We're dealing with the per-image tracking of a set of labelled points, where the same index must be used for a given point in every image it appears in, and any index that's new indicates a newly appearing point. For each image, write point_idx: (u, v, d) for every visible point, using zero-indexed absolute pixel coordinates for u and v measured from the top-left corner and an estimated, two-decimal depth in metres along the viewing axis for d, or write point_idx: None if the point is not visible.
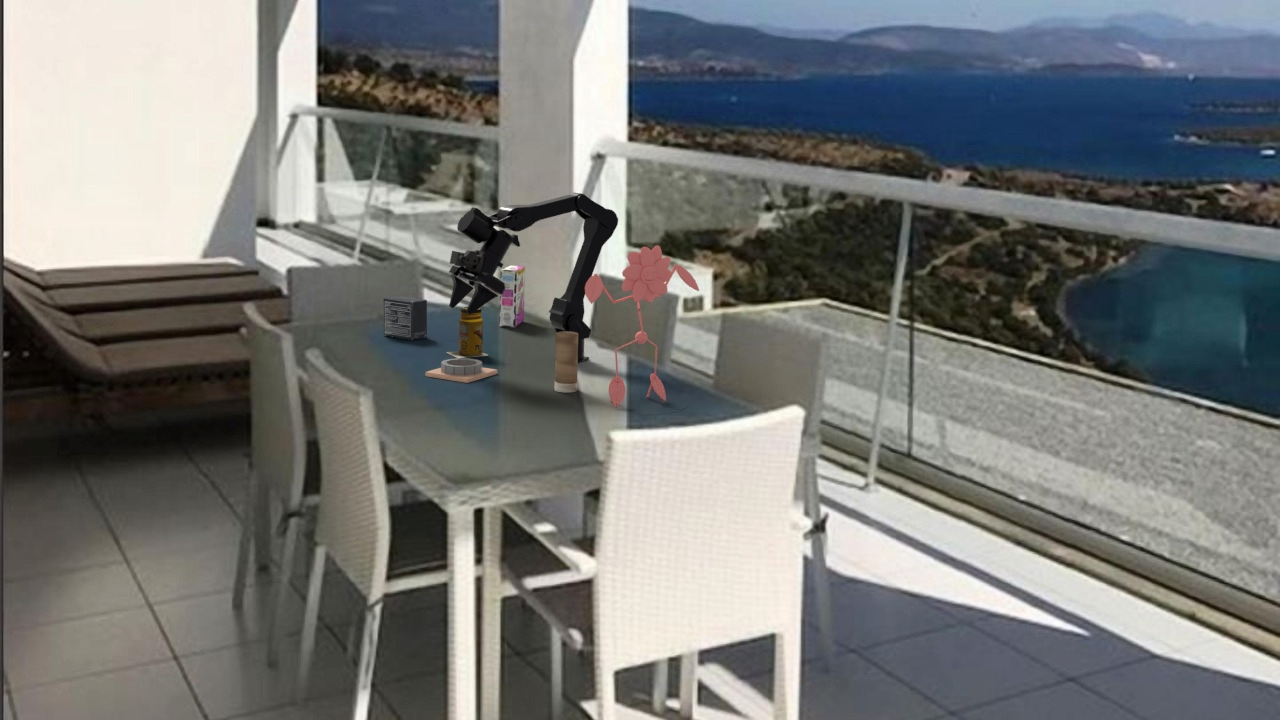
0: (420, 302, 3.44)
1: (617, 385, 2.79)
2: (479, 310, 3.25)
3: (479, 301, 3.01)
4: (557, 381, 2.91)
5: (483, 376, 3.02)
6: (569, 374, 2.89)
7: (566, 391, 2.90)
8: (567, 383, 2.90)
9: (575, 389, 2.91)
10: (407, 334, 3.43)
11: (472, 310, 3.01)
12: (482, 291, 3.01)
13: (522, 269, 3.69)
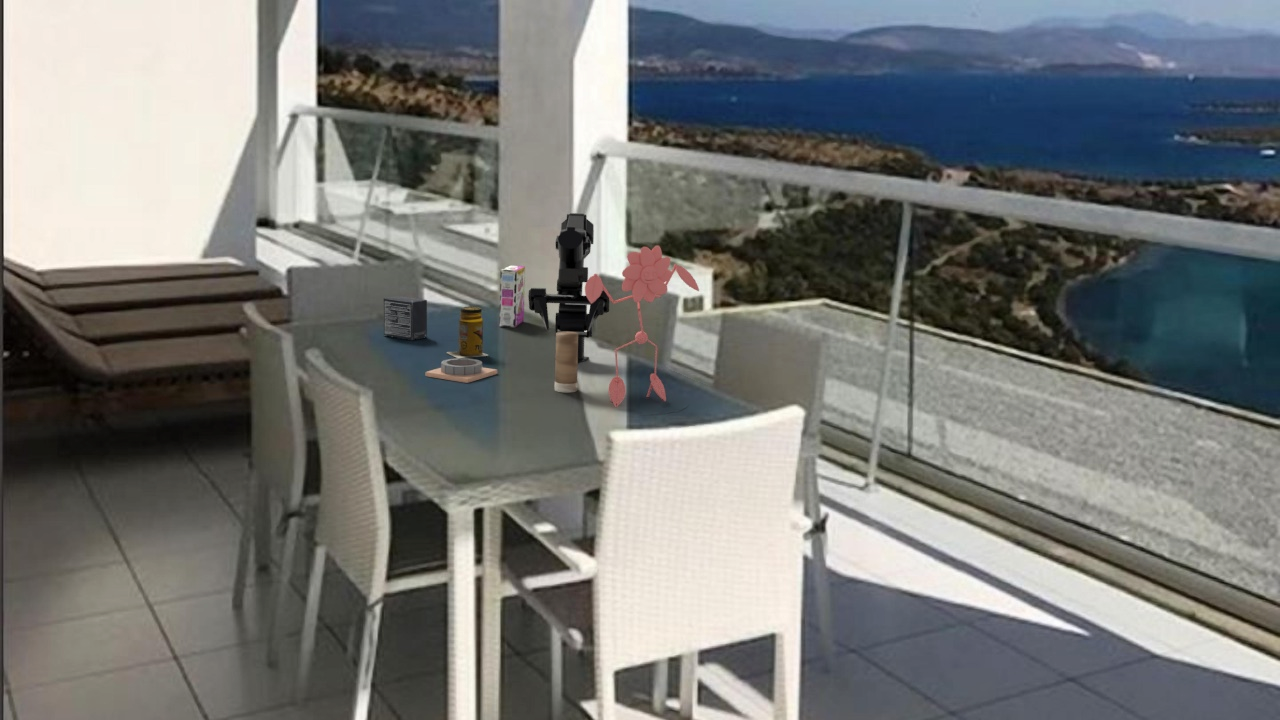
0: (420, 302, 3.44)
1: (617, 385, 2.79)
2: (479, 310, 3.25)
3: (593, 318, 2.99)
4: (557, 381, 2.91)
5: (483, 376, 3.02)
6: (569, 374, 2.89)
7: (566, 391, 2.90)
8: (567, 383, 2.90)
9: (575, 389, 2.91)
10: (407, 334, 3.43)
11: (589, 327, 2.97)
12: None
13: (522, 269, 3.69)
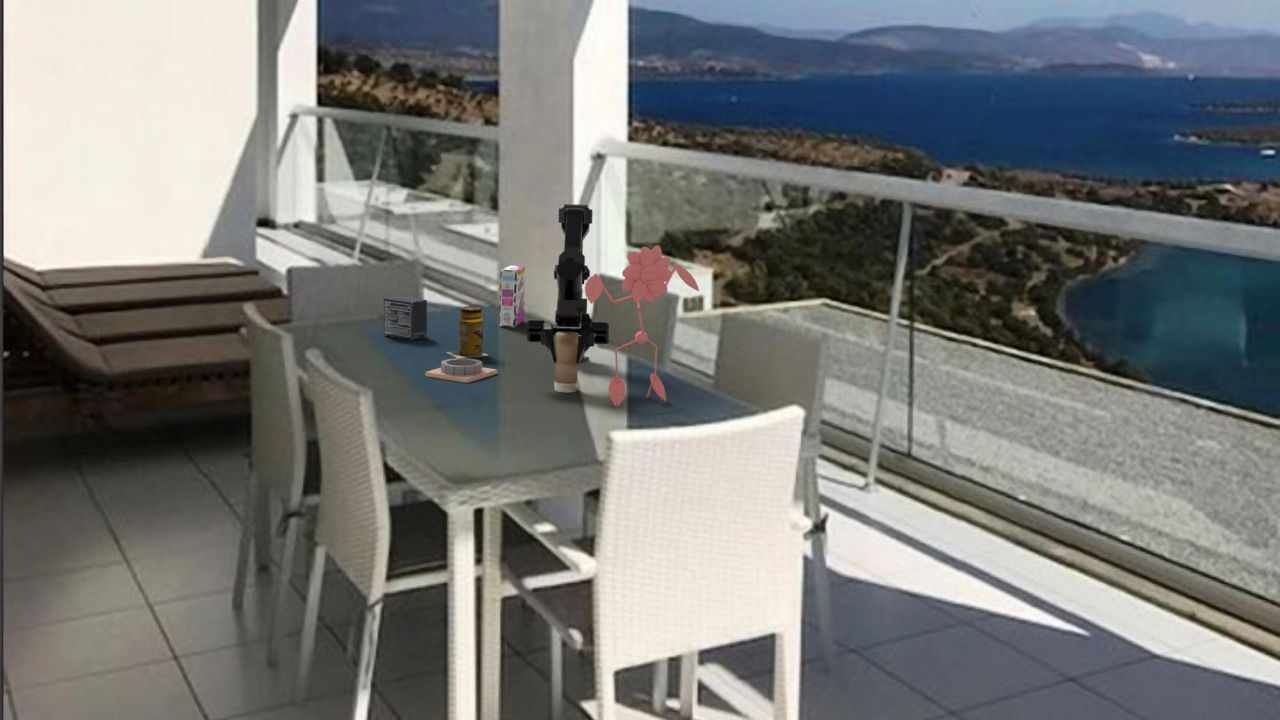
0: (420, 302, 3.44)
1: (617, 385, 2.79)
2: (479, 310, 3.25)
3: (584, 350, 2.92)
4: (557, 381, 2.91)
5: (483, 376, 3.02)
6: (569, 374, 2.89)
7: (566, 391, 2.90)
8: (567, 383, 2.90)
9: (575, 389, 2.91)
10: (407, 334, 3.43)
11: (580, 359, 2.91)
12: None
13: (522, 269, 3.69)
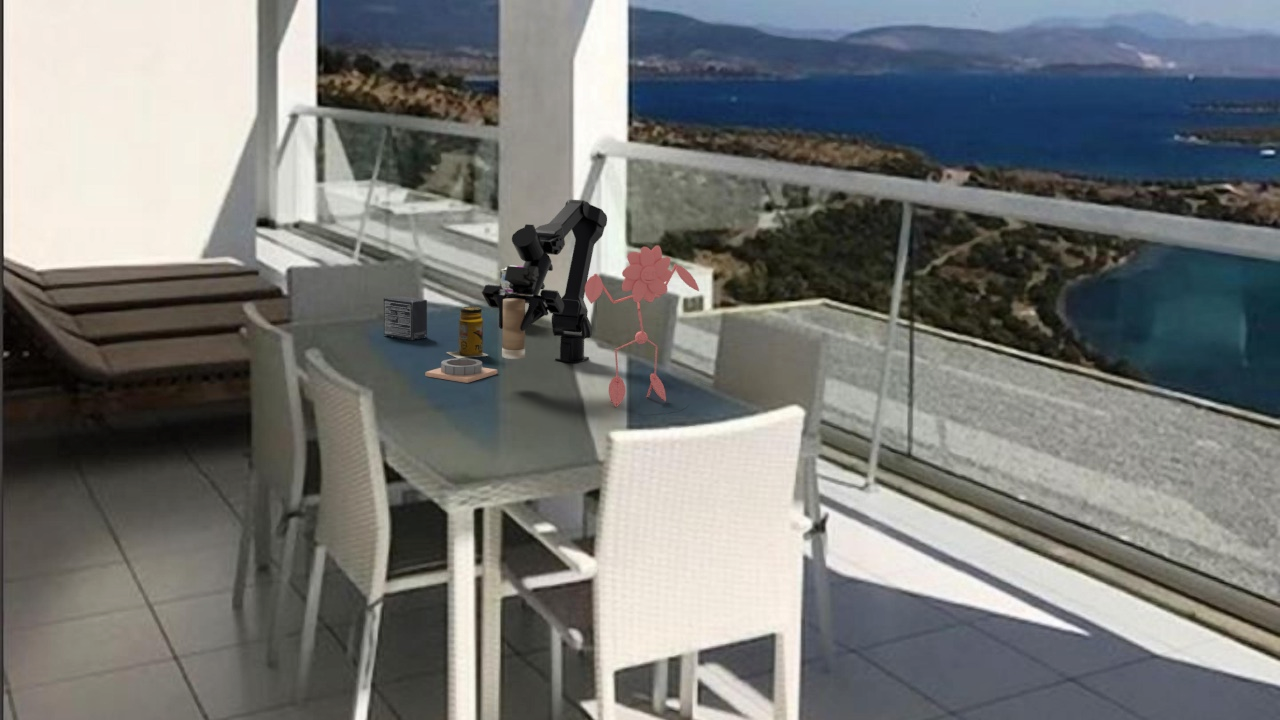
0: (420, 302, 3.44)
1: (617, 385, 2.79)
2: (479, 310, 3.25)
3: (532, 318, 2.92)
4: (502, 347, 2.92)
5: (483, 376, 3.02)
6: (511, 340, 2.90)
7: (509, 357, 2.91)
8: (510, 349, 2.91)
9: (519, 356, 2.91)
10: (407, 334, 3.43)
11: (525, 326, 2.90)
12: (534, 308, 2.92)
13: None
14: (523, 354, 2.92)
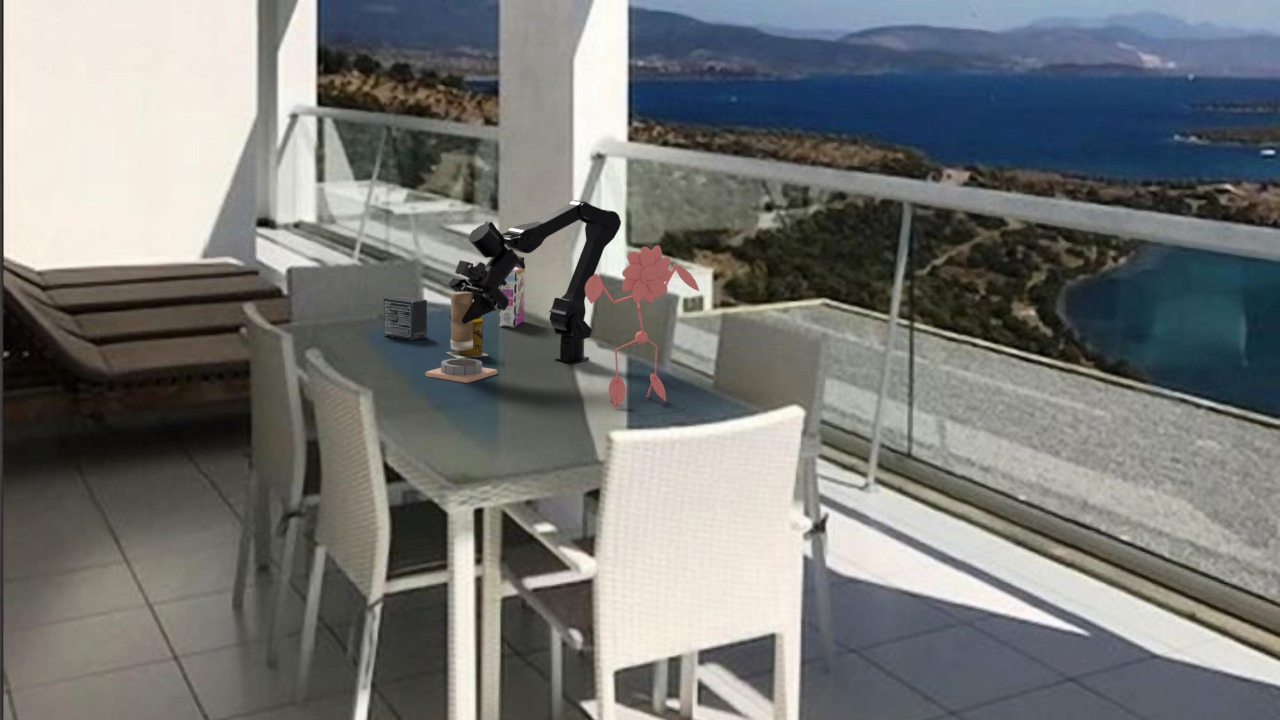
0: (420, 302, 3.44)
1: (617, 385, 2.79)
2: None
3: (476, 312, 2.99)
4: None
5: (483, 376, 3.02)
6: (454, 331, 3.00)
7: (452, 348, 3.01)
8: (454, 340, 3.01)
9: (462, 348, 3.00)
10: (407, 334, 3.43)
11: (467, 320, 2.99)
12: (480, 303, 3.00)
13: (522, 269, 3.69)
14: (467, 346, 3.01)
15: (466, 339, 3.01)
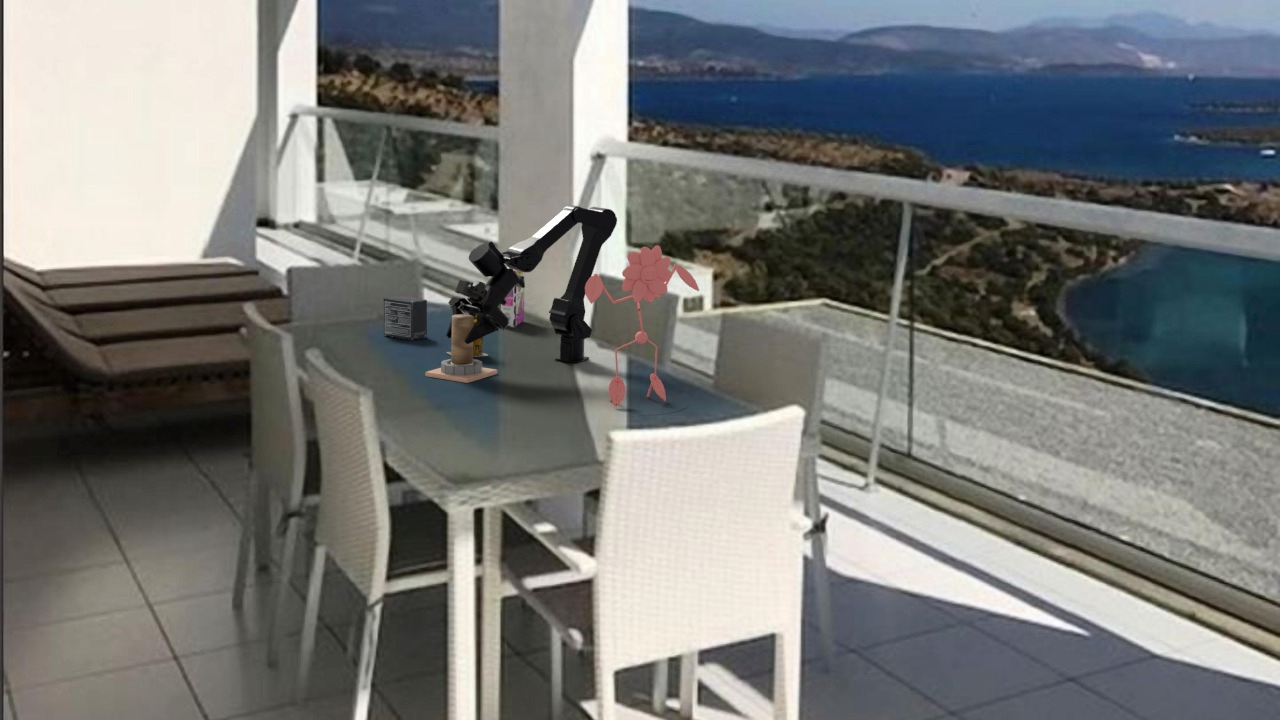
0: (420, 302, 3.44)
1: (617, 385, 2.79)
2: None
3: (479, 332, 2.99)
4: None
5: (483, 376, 3.02)
6: (455, 354, 3.01)
7: None
8: (454, 363, 3.02)
9: None
10: (407, 334, 3.43)
11: (470, 340, 2.99)
12: (483, 323, 2.99)
13: None
14: None
15: (466, 362, 3.02)
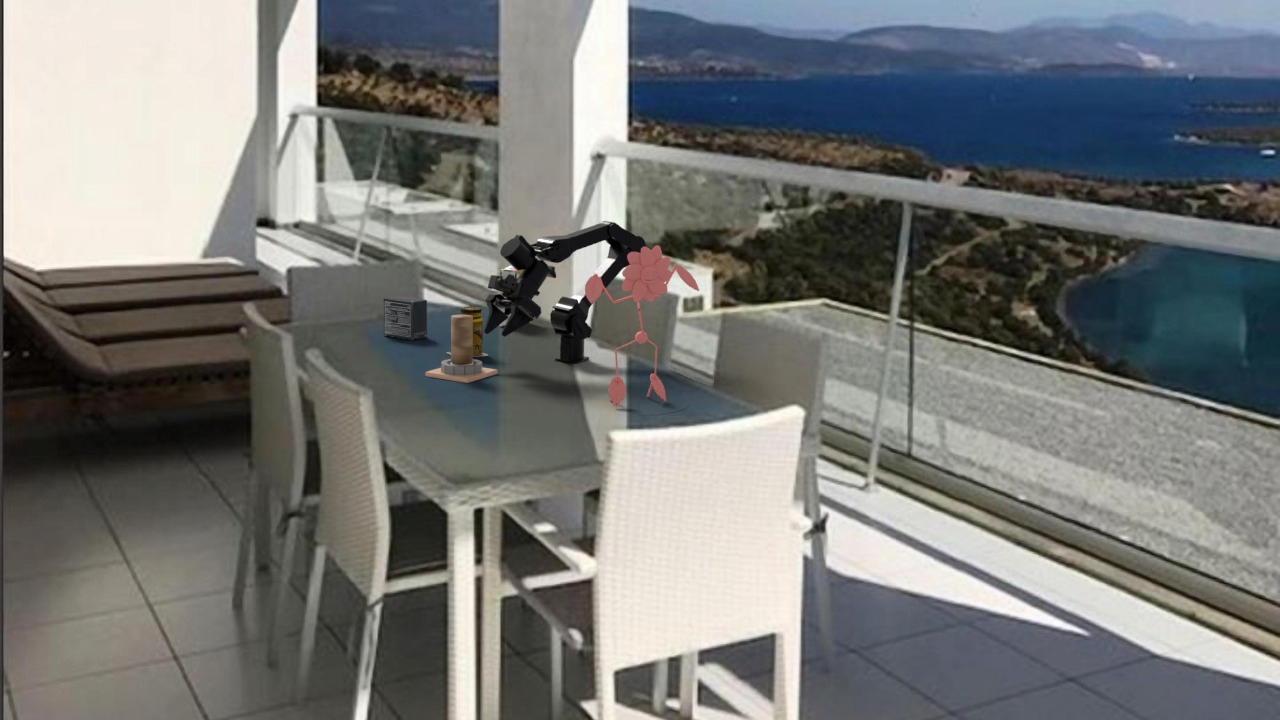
0: (420, 302, 3.44)
1: (617, 385, 2.79)
2: (479, 310, 3.25)
3: (514, 324, 3.04)
4: None
5: (483, 376, 3.02)
6: (454, 354, 3.01)
7: None
8: (454, 363, 3.02)
9: None
10: (407, 334, 3.43)
11: (506, 332, 3.04)
12: (518, 314, 3.04)
13: None
14: None
15: (466, 362, 3.02)
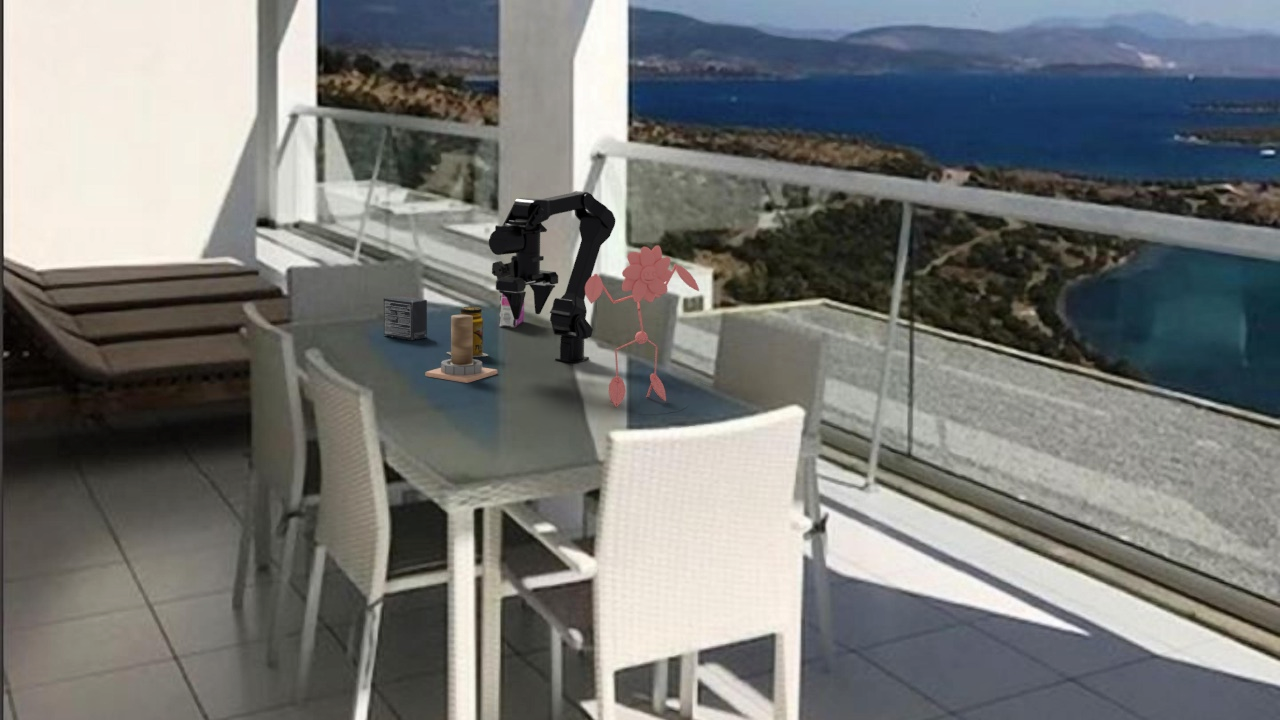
0: (420, 302, 3.44)
1: (617, 385, 2.79)
2: (479, 310, 3.25)
3: (515, 304, 3.04)
4: None
5: (483, 376, 3.02)
6: (454, 354, 3.01)
7: None
8: (454, 363, 3.02)
9: None
10: (407, 334, 3.43)
11: (515, 315, 3.05)
12: (513, 294, 3.03)
13: None
14: None
15: (466, 362, 3.02)
